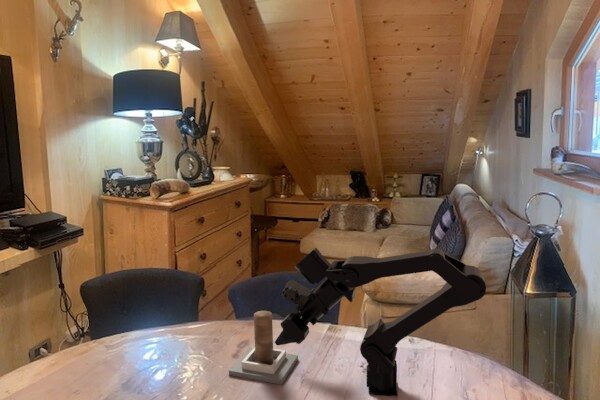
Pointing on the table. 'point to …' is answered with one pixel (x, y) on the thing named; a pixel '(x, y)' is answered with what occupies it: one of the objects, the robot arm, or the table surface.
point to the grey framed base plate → (264, 367)
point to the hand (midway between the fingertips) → (282, 335)
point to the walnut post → (263, 337)
